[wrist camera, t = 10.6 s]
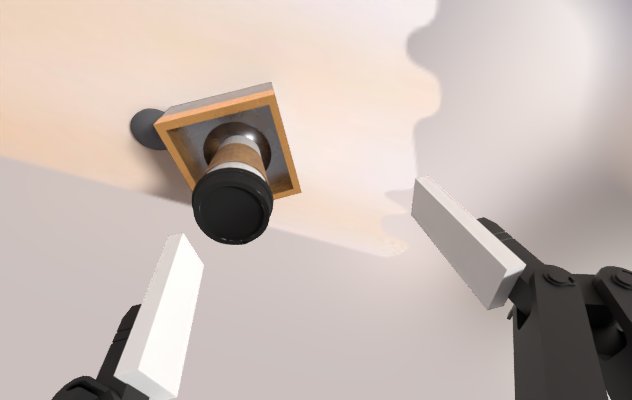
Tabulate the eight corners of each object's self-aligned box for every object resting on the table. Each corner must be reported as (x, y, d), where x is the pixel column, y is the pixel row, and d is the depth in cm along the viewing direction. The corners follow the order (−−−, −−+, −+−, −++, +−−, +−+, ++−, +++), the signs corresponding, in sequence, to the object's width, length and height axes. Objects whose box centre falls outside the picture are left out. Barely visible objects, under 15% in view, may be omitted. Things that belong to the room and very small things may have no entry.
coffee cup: (221, 184, 40) (206, 255, 28) (199, 132, 35) (170, 191, 23) (274, 173, 41) (282, 237, 28) (260, 120, 36) (263, 171, 23)
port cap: (125, 113, 37) (118, 118, 35) (166, 103, 37) (162, 107, 35) (148, 151, 40) (143, 156, 39) (186, 141, 41) (183, 147, 39)
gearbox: (170, 106, 37) (153, 124, 31) (271, 81, 38) (274, 94, 31) (214, 190, 46) (207, 217, 40) (295, 168, 47) (301, 192, 40)
